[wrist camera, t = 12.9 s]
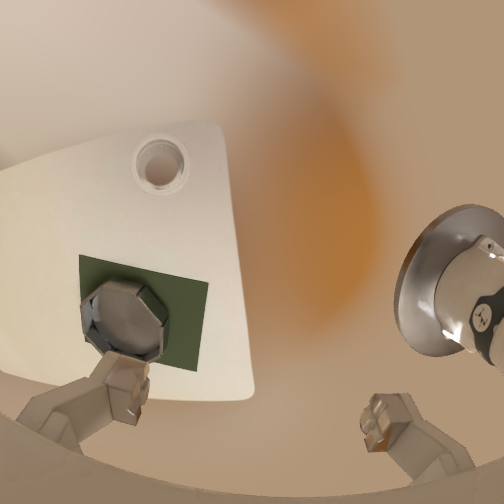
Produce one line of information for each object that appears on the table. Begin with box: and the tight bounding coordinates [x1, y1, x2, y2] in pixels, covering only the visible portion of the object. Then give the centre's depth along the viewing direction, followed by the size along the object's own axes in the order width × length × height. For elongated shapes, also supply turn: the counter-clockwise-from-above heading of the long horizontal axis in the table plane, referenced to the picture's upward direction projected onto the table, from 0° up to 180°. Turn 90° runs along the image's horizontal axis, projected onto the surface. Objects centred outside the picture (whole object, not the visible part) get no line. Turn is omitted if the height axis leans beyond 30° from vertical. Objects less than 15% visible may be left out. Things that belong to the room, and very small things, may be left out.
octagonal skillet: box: [80, 277, 170, 364], centre depth 41 cm, size 20×13×5 cm, turn 170°
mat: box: [79, 255, 208, 372], centre depth 42 cm, size 20×16×1 cm
